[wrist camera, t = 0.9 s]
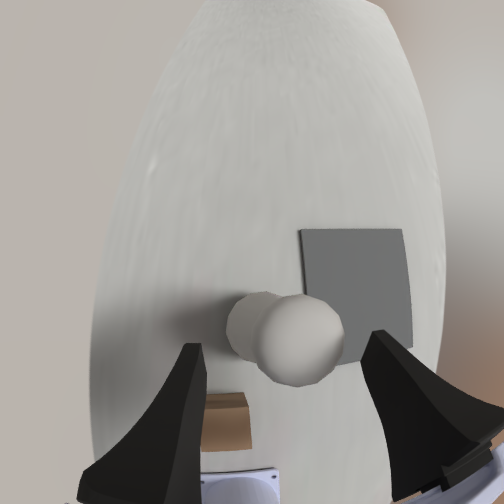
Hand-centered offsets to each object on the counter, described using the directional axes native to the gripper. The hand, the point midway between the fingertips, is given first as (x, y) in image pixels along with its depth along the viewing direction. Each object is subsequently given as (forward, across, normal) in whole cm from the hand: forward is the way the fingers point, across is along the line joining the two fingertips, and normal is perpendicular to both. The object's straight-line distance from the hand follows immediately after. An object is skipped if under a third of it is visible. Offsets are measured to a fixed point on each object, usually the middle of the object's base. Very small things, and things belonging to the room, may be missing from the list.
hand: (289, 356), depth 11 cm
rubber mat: (+12, -10, +7) cm, 17 cm away
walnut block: (+5, +4, +14) cm, 15 cm away
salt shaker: (+10, 0, +8) cm, 13 cm away
